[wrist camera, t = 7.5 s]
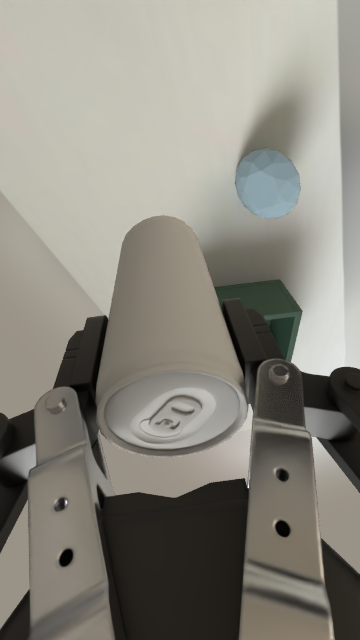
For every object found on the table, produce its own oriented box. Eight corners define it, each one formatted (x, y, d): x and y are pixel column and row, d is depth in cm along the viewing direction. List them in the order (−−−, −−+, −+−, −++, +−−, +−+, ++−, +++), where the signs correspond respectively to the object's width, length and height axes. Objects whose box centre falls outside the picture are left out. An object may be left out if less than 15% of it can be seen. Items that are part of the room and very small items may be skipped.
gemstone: (321, 131, 28) (299, 152, 26) (312, 206, 33) (293, 228, 31) (251, 133, 32) (226, 151, 30) (253, 199, 37) (233, 218, 35)
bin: (187, 360, 51) (193, 396, 45) (181, 291, 42) (186, 325, 35) (269, 350, 51) (285, 385, 45) (280, 279, 42) (302, 310, 36)
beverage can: (108, 261, 18) (65, 440, 9) (147, 194, 16) (143, 338, 6) (172, 294, 20) (192, 469, 11) (214, 238, 18) (286, 399, 8)
